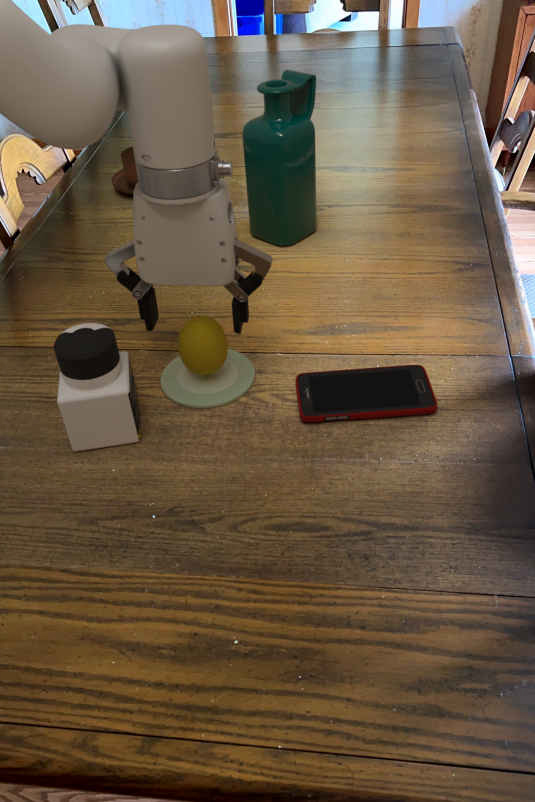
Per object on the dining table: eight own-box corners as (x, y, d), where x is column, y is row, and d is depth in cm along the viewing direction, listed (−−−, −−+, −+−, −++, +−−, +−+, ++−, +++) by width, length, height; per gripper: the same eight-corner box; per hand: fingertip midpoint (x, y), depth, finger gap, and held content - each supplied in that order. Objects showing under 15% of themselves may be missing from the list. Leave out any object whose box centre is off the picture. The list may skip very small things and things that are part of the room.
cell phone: (438, 414, 76) (439, 407, 75) (300, 424, 76) (300, 417, 75) (423, 370, 82) (423, 363, 81) (294, 379, 82) (294, 373, 81)
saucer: (151, 407, 80) (150, 403, 79) (171, 349, 88) (170, 345, 88) (249, 409, 78) (248, 406, 78) (260, 350, 87) (259, 347, 86)
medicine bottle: (141, 443, 75) (119, 350, 68) (72, 453, 75) (43, 361, 67) (139, 400, 81) (119, 310, 73) (75, 410, 80) (48, 320, 72)
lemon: (193, 357, 86) (184, 300, 80) (237, 363, 84) (231, 305, 79) (175, 385, 82) (165, 327, 76) (221, 392, 80) (213, 333, 75)
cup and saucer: (127, 172, 132) (121, 138, 128) (189, 173, 130) (185, 139, 126) (103, 199, 123) (95, 164, 119) (169, 202, 121) (164, 166, 117)
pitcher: (285, 250, 106) (278, 95, 91) (244, 234, 110) (231, 84, 96) (327, 225, 111) (326, 75, 97) (286, 211, 115) (280, 66, 101)
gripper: (272, 159, 69) (277, 308, 80) (99, 158, 71) (127, 305, 82) (264, 191, 64) (270, 347, 75) (76, 189, 65) (109, 342, 76)
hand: (195, 325), depth 78 cm, fingers open, 9 cm apart
